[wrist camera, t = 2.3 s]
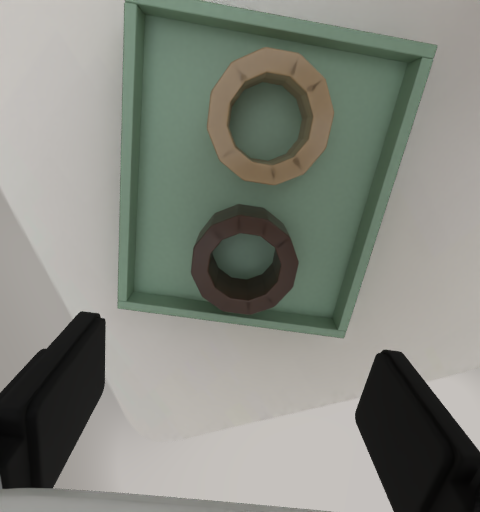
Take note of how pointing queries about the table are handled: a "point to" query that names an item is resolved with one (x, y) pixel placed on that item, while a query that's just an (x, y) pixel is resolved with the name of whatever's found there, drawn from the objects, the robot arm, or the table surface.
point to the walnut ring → (234, 289)
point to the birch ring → (309, 102)
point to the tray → (258, 147)
